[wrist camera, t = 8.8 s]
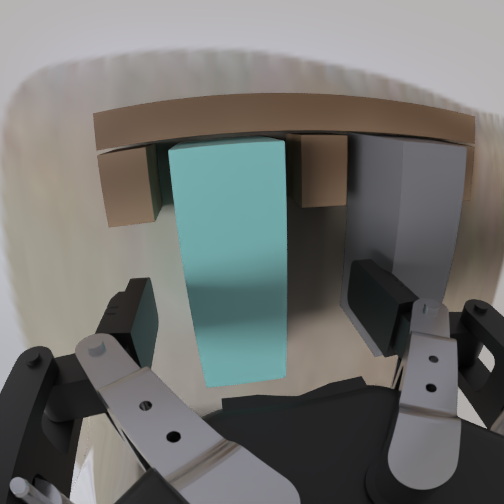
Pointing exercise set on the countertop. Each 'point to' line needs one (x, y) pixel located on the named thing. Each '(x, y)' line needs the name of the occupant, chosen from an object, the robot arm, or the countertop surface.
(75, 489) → the beer glass
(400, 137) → the charcoal plug
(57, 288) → the countertop surface
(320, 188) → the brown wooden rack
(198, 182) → the teal plug
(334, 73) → the countertop surface
